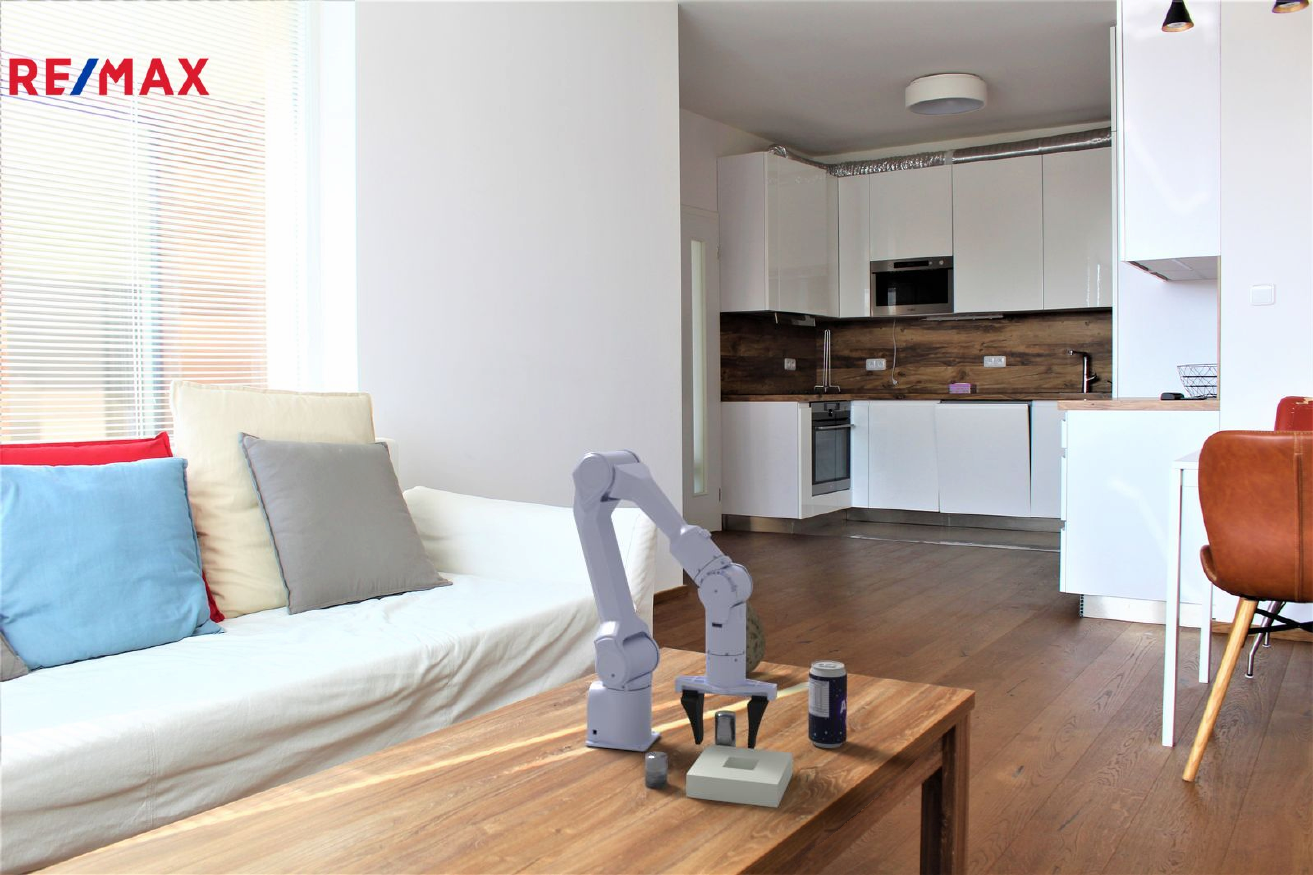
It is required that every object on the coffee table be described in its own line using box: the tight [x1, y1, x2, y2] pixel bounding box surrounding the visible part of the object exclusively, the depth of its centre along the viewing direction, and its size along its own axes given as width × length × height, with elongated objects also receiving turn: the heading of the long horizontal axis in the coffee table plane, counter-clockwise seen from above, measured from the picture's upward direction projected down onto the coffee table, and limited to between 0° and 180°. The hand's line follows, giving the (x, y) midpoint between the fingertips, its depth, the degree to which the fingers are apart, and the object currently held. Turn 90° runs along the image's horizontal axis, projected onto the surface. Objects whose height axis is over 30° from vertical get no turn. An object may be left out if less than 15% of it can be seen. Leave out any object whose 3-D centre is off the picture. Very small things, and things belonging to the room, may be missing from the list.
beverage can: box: [807, 660, 848, 749], centre depth 155 cm, size 6×6×12 cm
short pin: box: [644, 751, 668, 790], centre depth 139 cm, size 3×3×4 cm
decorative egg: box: [736, 599, 766, 676], centre depth 192 cm, size 11×11×15 cm
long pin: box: [714, 709, 737, 747], centre depth 147 cm, size 3×3×7 cm
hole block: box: [685, 744, 794, 808], centre depth 139 cm, size 12×12×3 cm
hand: (725, 745), depth 147 cm, fingers open, 7 cm apart
